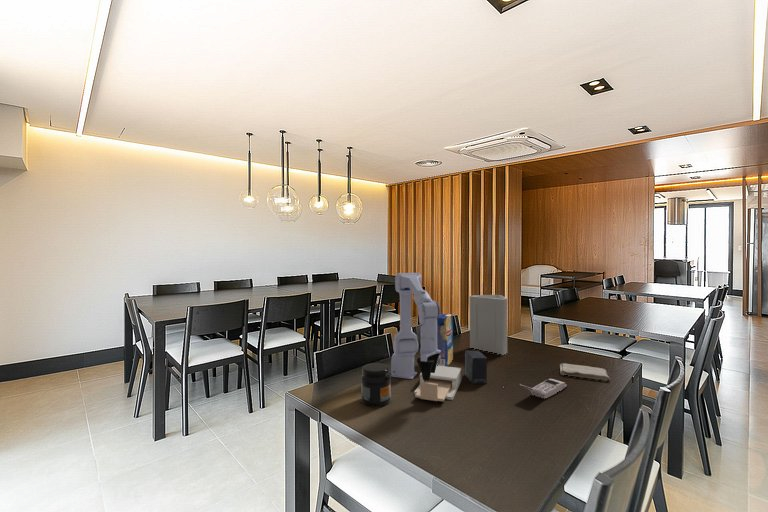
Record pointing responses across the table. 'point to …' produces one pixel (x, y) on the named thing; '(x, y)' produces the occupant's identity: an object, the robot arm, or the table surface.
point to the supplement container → (375, 384)
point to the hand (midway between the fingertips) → (429, 376)
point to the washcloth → (583, 371)
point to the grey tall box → (488, 323)
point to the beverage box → (445, 339)
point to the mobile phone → (546, 388)
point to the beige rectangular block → (433, 390)
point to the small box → (476, 367)
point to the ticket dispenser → (445, 378)
